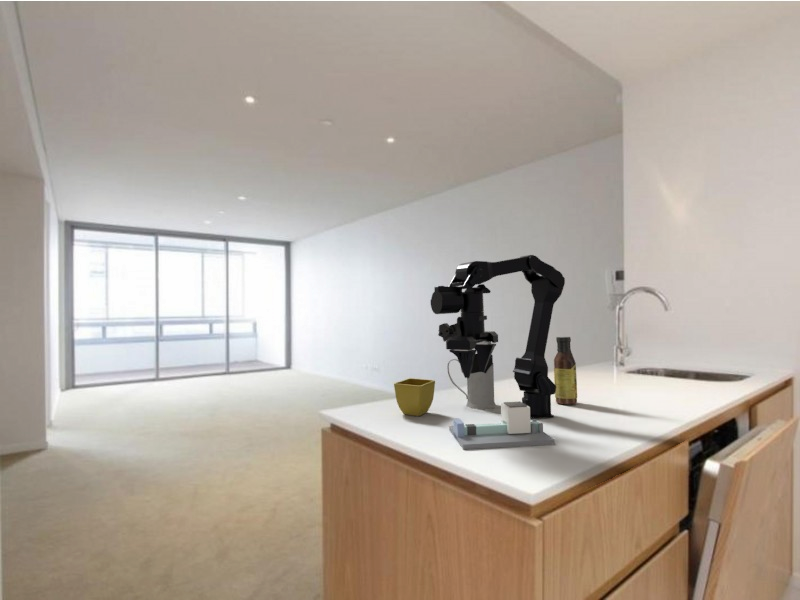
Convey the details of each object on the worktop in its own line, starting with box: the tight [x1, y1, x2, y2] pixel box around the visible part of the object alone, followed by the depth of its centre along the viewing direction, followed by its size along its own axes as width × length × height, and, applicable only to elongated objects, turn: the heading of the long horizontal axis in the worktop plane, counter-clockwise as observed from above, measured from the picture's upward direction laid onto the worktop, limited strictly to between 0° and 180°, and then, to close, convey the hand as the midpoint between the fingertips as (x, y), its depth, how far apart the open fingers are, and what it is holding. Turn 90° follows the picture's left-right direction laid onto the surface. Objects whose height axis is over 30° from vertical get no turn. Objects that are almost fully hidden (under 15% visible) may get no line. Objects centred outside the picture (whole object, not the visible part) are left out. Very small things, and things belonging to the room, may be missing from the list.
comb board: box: [448, 418, 556, 450], centre depth 98 cm, size 20×14×4 cm
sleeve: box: [500, 401, 531, 434], centre depth 98 cm, size 5×5×6 cm
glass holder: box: [446, 353, 497, 410], centre depth 129 cm, size 9×14×15 cm, turn 74°
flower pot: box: [393, 377, 436, 417], centre depth 120 cm, size 9×9×9 cm
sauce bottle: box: [553, 336, 578, 406], centre depth 129 cm, size 6×6×20 cm
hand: (474, 374), depth 107 cm, fingers open, 9 cm apart
